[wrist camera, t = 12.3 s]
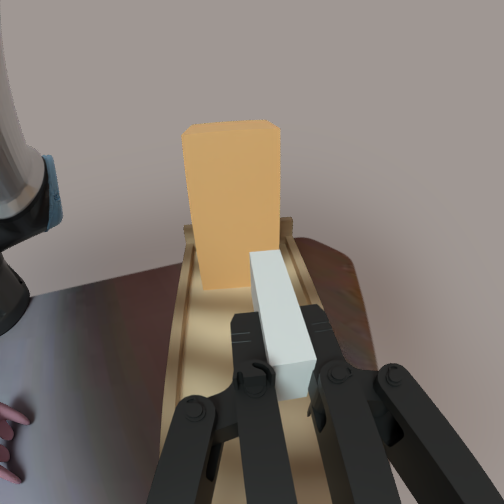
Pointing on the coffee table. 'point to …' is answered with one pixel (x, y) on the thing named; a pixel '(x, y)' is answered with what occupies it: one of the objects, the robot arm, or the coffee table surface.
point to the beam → (221, 370)
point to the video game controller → (8, 437)
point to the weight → (232, 196)
